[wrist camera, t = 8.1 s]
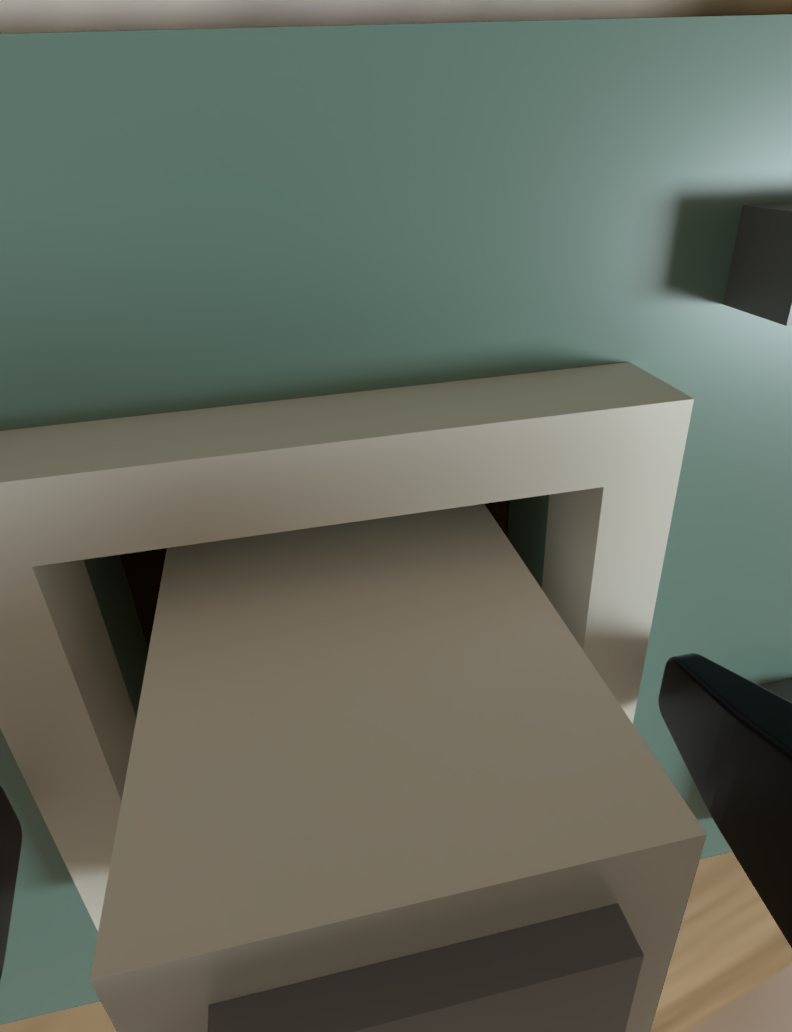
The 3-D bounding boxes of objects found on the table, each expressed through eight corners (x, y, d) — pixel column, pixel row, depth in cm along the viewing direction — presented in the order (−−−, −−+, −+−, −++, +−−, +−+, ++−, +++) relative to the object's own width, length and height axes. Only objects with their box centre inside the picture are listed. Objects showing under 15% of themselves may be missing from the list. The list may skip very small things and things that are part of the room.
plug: (454, 458, 11) (740, 884, 5) (456, 699, 14) (639, 1171, 7) (175, 497, 10) (77, 1049, 4) (236, 742, 13) (233, 1299, 7)
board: (1046, 24, 9) (1400, -26, 7) (775, 776, 17) (882, 903, 15) (-933, 81, 6) (-1978, 28, 3) (-150, 980, 14) (-251, 1197, 11)
